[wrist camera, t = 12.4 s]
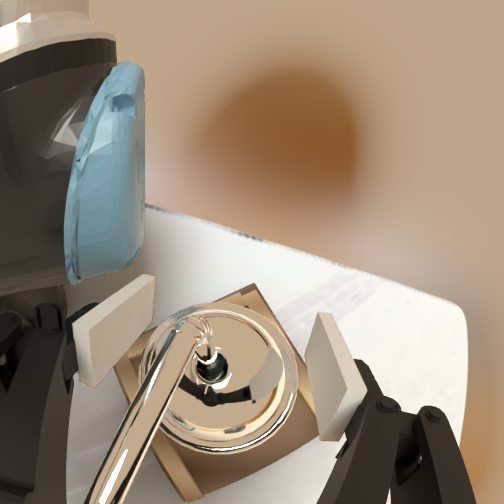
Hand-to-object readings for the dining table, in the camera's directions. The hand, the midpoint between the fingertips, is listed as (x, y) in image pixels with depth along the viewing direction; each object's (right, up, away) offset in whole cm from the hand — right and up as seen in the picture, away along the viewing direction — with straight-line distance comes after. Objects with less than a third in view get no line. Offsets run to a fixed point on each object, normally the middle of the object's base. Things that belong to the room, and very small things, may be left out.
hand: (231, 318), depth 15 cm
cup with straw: (-2, -9, +7) cm, 11 cm away
